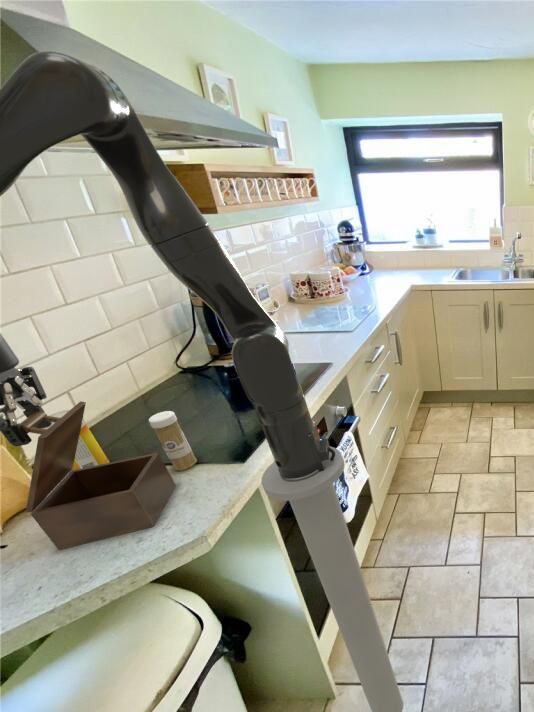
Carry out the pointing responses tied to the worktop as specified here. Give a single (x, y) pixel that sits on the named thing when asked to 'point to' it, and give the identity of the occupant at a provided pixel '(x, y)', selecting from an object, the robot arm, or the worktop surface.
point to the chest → (105, 501)
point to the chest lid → (52, 451)
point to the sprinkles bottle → (173, 440)
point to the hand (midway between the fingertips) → (34, 434)
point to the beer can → (85, 447)
